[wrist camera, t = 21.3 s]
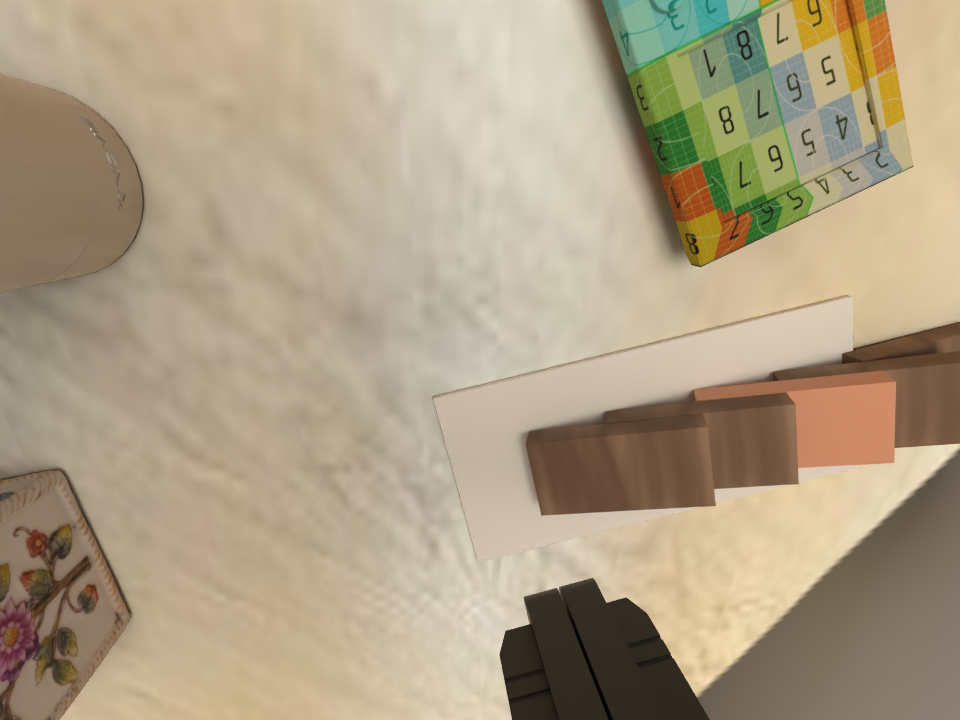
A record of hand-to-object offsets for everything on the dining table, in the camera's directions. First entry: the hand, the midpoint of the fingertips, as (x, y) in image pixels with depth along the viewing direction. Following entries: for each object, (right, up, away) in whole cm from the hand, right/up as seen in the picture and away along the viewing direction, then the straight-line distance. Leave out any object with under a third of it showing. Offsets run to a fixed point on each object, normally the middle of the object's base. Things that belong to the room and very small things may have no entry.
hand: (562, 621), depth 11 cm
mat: (+9, +1, +23) cm, 25 cm away
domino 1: (+2, -2, +22) cm, 22 cm away
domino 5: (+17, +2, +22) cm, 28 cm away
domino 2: (+6, 0, +22) cm, 23 cm away
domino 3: (+12, +1, +22) cm, 25 cm away
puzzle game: (+10, +22, +17) cm, 30 cm away
